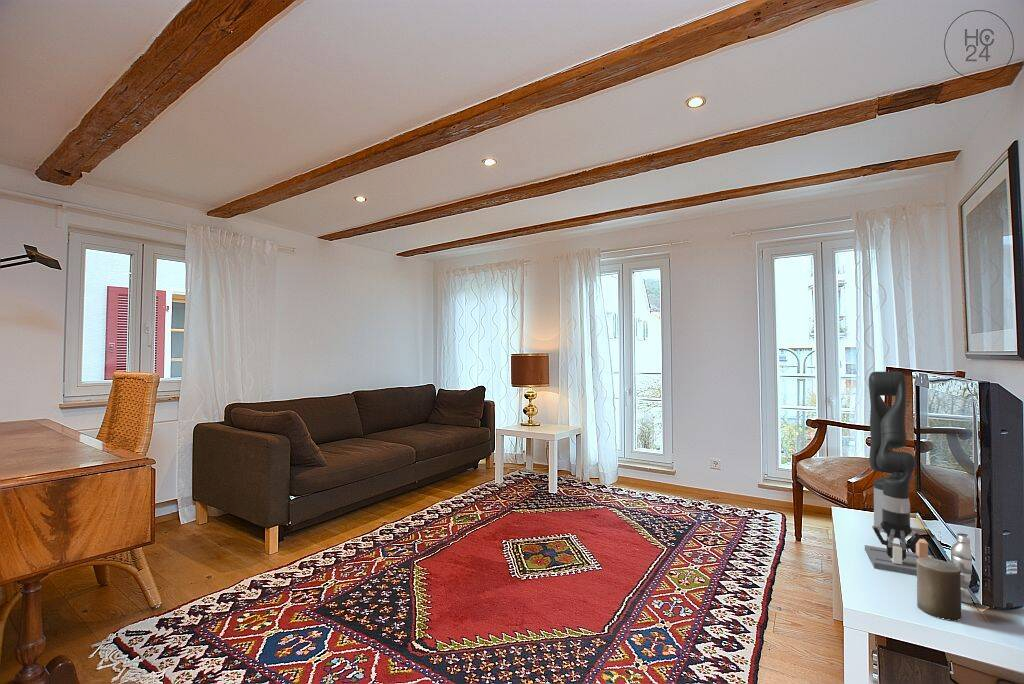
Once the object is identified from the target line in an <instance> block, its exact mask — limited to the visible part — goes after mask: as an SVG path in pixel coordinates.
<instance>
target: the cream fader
mask: <svg viewBox="0 0 1024 684" xmlns="http://www.w3.org/2000/svg"><path fill="white" fill-rule="evenodd" d="M892 548H893V558H890V559H891V560H892V562H893V563H896V564H902V547H901V546H900V543H896V542H893V543H892Z"/></svg>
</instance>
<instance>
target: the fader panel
mask: <svg viewBox="0 0 1024 684" xmlns="http://www.w3.org/2000/svg"><path fill="white" fill-rule="evenodd" d="M865 551H866V552H865ZM864 552H865V553H867V554H866V556H867V555H868V556H867V558H868V559H869V561H870V562H871V565H872V567H873V569H877V570H882V571H887V572H894V573H899V574H905V575H910V576H916V577H917V561H916V559H919V557H918V556H917V554H916V552H911V551H906V558H905V559H904V560H902V564H896V563H893V562H892V560H891V559H890V557H889V556H888V555H887V547H886V548H885V547H880V546H879V547H878V546H873V545H867V544H865V545H864ZM928 558H932V559H936V558H935V556H934V555H931V554H928Z"/></svg>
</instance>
